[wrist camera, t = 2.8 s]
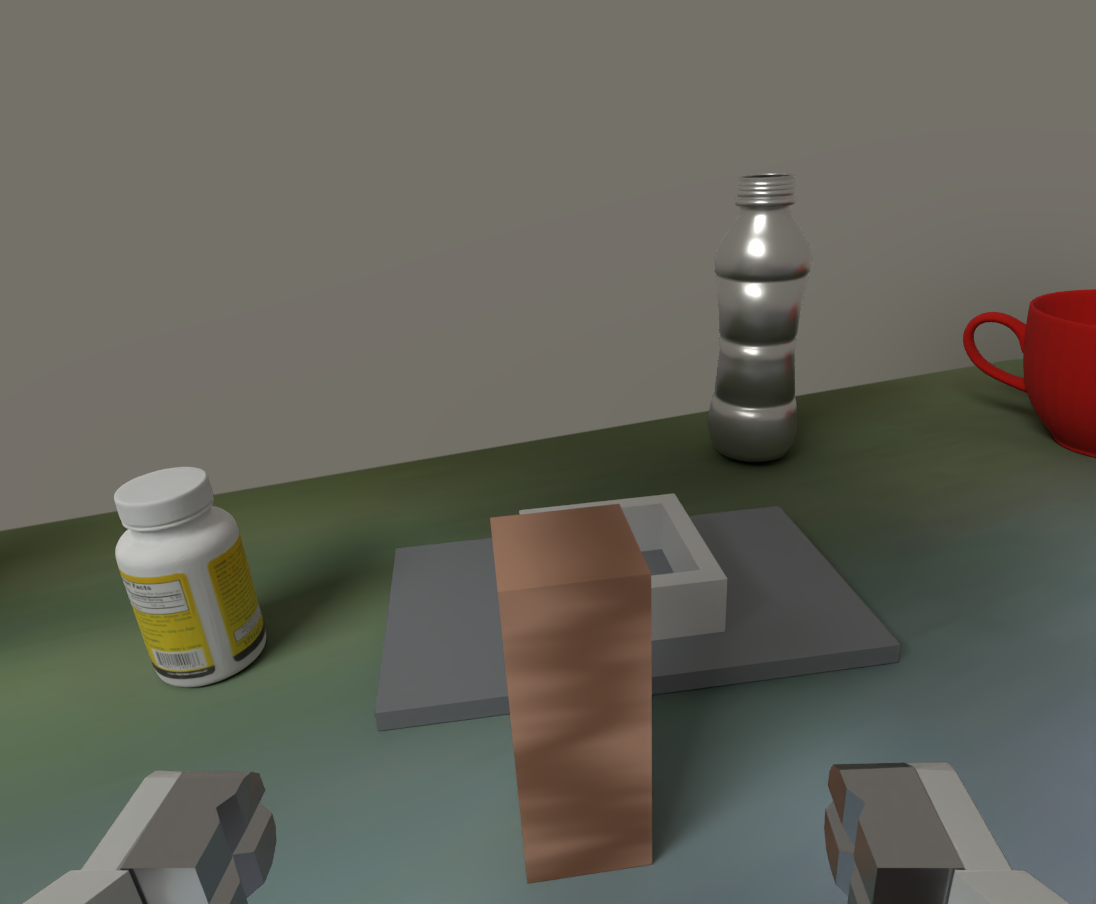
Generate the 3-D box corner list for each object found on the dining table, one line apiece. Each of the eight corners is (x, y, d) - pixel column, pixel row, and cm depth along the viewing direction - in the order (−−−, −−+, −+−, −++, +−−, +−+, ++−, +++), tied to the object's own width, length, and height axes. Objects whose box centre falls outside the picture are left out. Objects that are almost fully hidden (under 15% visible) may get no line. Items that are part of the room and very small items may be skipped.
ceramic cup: (966, 394, 66) (986, 280, 62) (1218, 430, 56) (1261, 297, 52) (929, 445, 57) (950, 314, 53) (1223, 498, 47) (1276, 343, 43)
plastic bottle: (765, 432, 61) (781, 169, 53) (813, 464, 55) (841, 173, 47) (692, 444, 59) (697, 177, 51) (733, 479, 53) (747, 182, 45)
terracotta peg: (527, 883, 26) (497, 591, 21) (517, 782, 30) (489, 517, 25) (652, 864, 26) (651, 573, 21) (625, 766, 30) (619, 503, 25)
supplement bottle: (251, 610, 42) (209, 450, 38) (282, 659, 38) (238, 485, 34) (146, 650, 39) (89, 482, 35) (167, 708, 35) (104, 525, 31)
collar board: (378, 731, 33) (364, 658, 31) (398, 562, 46) (388, 504, 44) (898, 662, 35) (909, 590, 33) (777, 519, 48) (782, 462, 46)
